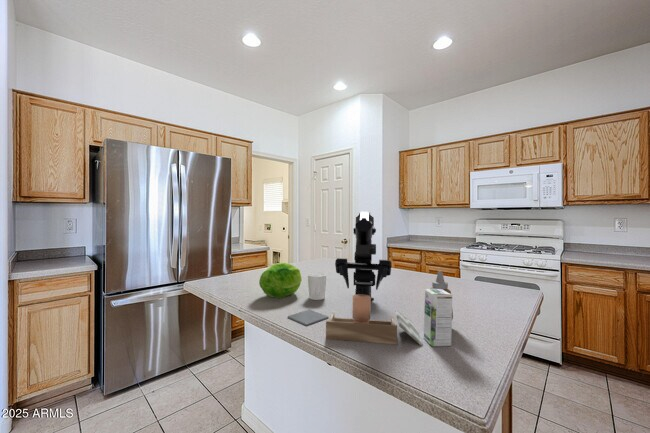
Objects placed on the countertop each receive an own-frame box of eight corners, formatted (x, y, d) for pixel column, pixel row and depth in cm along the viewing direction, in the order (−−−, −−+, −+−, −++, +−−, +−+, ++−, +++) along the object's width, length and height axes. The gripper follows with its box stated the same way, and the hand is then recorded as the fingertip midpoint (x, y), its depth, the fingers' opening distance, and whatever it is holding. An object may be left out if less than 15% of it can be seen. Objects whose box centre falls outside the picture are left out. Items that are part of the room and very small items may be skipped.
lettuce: (281, 285, 138) (308, 293, 131) (248, 297, 118) (278, 308, 111) (284, 255, 137) (312, 263, 130) (251, 262, 117) (282, 271, 110)
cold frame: (332, 321, 96) (332, 304, 96) (415, 327, 92) (415, 309, 92) (325, 339, 82) (326, 320, 82) (423, 347, 78) (423, 327, 78)
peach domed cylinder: (360, 327, 90) (360, 293, 90) (373, 333, 86) (374, 297, 86) (348, 332, 87) (349, 296, 87) (361, 338, 83) (362, 300, 83)
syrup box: (422, 337, 83) (423, 288, 83) (442, 337, 84) (443, 288, 84) (431, 347, 78) (432, 294, 77) (452, 346, 78) (453, 293, 78)
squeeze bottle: (440, 333, 86) (441, 274, 86) (420, 324, 93) (421, 269, 93) (458, 329, 90) (459, 272, 90) (438, 320, 97) (438, 267, 97)
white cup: (324, 301, 117) (324, 277, 117) (305, 300, 118) (305, 276, 118) (327, 295, 125) (327, 273, 124) (310, 294, 126) (310, 272, 126)
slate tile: (309, 310, 105) (309, 309, 105) (328, 317, 98) (328, 316, 98) (287, 317, 98) (287, 316, 98) (306, 325, 91) (306, 324, 91)
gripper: (336, 234, 98) (331, 273, 88) (391, 236, 96) (393, 275, 85) (338, 254, 106) (334, 291, 95) (389, 256, 103) (391, 295, 93)
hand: (362, 288), depth 92 cm, fingers open, 9 cm apart
